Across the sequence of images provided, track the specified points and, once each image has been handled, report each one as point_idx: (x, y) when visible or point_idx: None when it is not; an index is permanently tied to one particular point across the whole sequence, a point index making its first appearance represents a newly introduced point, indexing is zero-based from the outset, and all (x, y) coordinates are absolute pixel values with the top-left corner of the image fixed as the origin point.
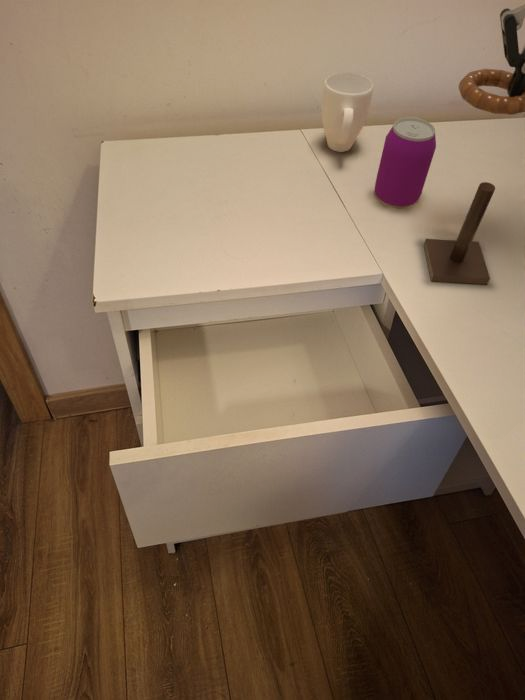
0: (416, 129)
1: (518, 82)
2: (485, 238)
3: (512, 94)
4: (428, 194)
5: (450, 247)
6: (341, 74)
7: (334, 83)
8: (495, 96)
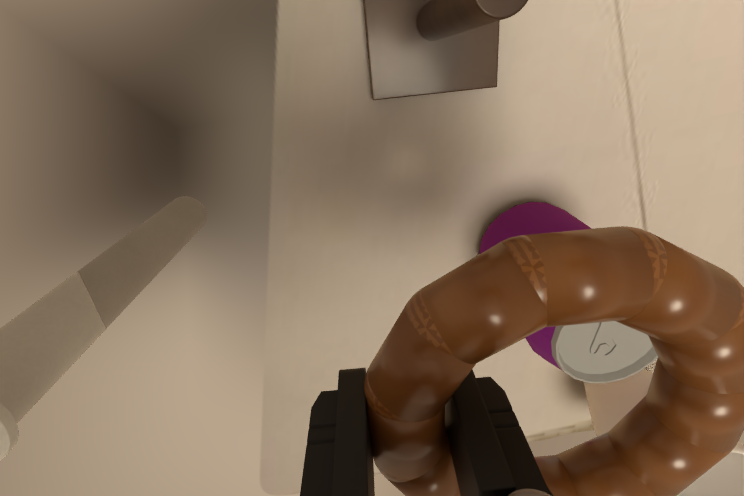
0: (603, 337)
1: (504, 443)
2: (347, 138)
3: (488, 390)
4: (453, 263)
5: (443, 62)
6: None
7: (699, 491)
8: (675, 296)
